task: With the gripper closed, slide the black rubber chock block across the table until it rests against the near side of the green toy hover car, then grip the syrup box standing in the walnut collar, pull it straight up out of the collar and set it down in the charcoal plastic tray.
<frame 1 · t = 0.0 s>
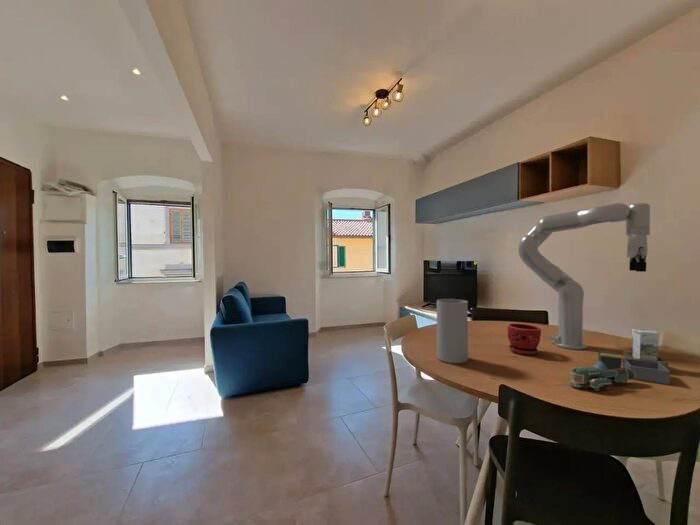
hand: (637, 270, 133), 37 cm above the table, tool pointing down, fingers open, 9 cm apart
tray: (644, 376, 109), on the table
syrup box: (644, 367, 118), resting in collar
green toy hover car: (603, 386, 102), on the table
cylinder vase: (452, 359, 129), on the table
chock: (609, 368, 117), on the table
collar: (644, 366, 118), on the table
plant pot: (523, 352, 138), on the table
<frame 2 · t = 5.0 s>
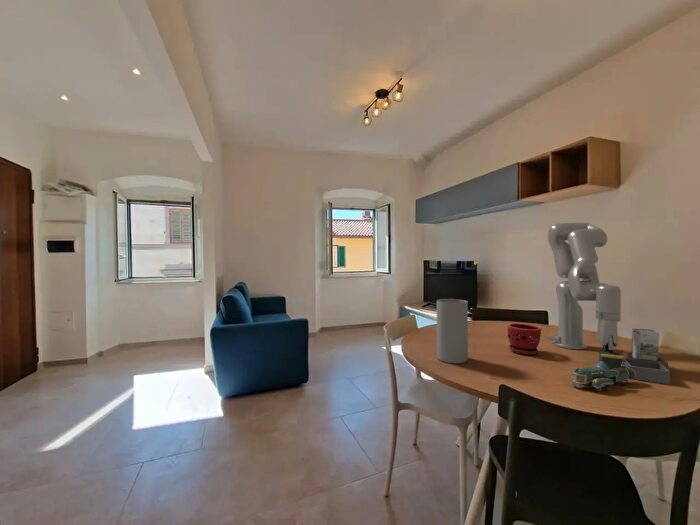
hand: (607, 362, 120), 1 cm above the table, tool pointing down, fingers closed
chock: (610, 369, 116), on the table, touching gripper
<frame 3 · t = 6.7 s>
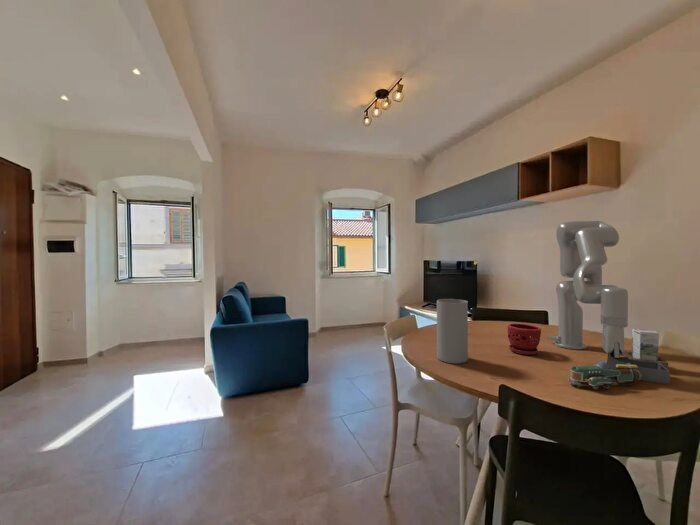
hand: (613, 370, 112), 1 cm above the table, tool pointing down, fingers closed
green toy hover car: (605, 385, 102), on the table, touching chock
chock: (618, 375, 108), point 1 cm above the table, tilted 20°, touching gripper, green toy hover car
everything else where it was.
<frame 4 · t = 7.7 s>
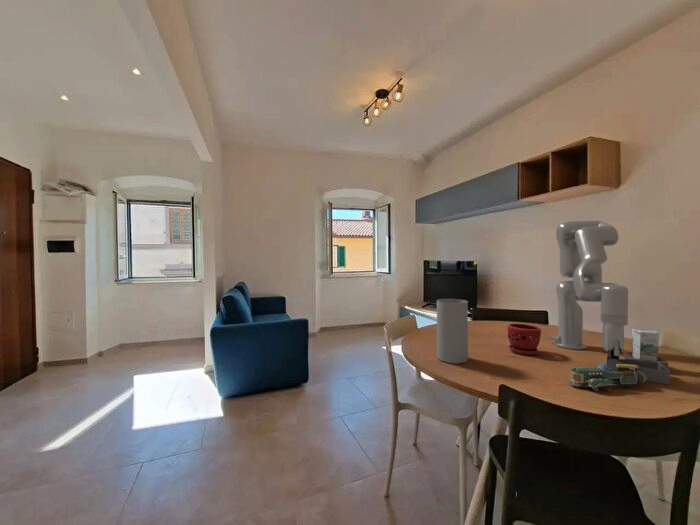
hand: (612, 368, 111), 2 cm above the table, tool pointing down, fingers closed
green toy hover car: (608, 387, 101), on the table
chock: (620, 378, 107), on the table, tilted 7°, touching gripper
everything else where it was.
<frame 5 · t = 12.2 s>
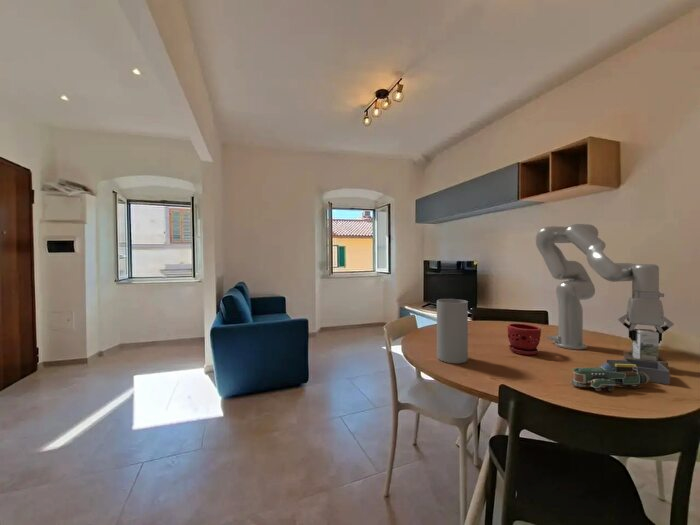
hand: (644, 340, 118), 10 cm above the table, tool pointing down, fingers closed on syrup box, 6 cm apart
syrup box: (644, 367, 118), resting in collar, touching gripper
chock: (620, 379, 107), on the table
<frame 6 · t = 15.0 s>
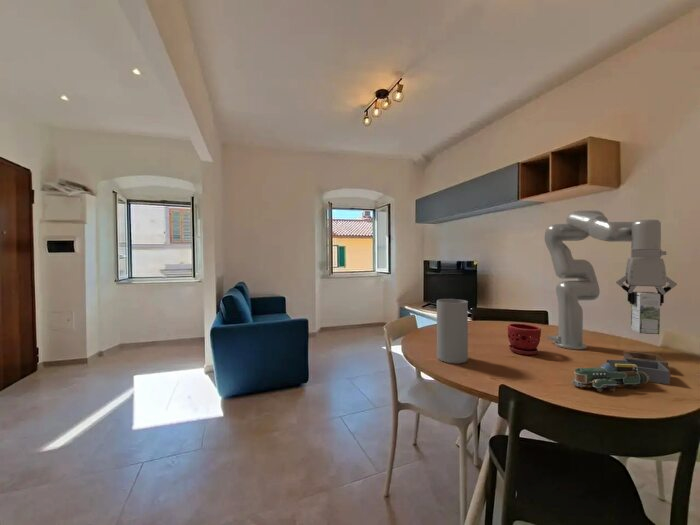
hand: (645, 304, 108), 26 cm above the table, tool pointing down, fingers closed on syrup box, 6 cm apart
syrup box: (645, 332, 109), point 16 cm above the table, touching gripper
when the fingers open (12 cm above the table, at t = 18.0 s): syrup box drops 1 cm, resting on tray.
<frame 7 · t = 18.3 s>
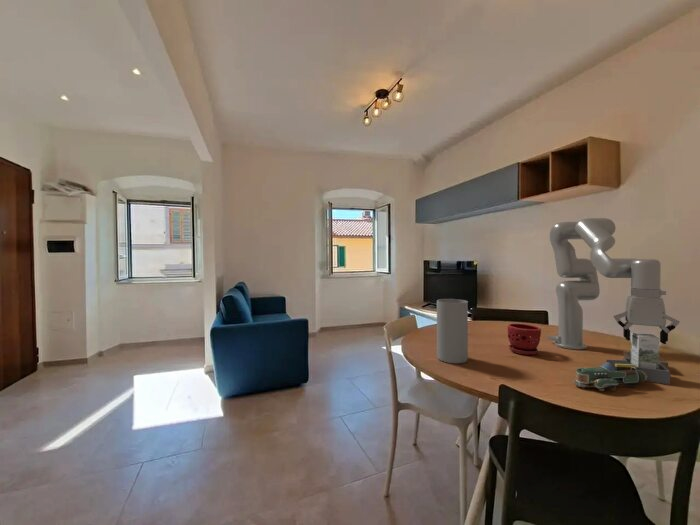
hand: (644, 341, 109), 13 cm above the table, tool pointing down, fingers open, 9 cm apart
syrup box: (643, 375, 109), resting on tray
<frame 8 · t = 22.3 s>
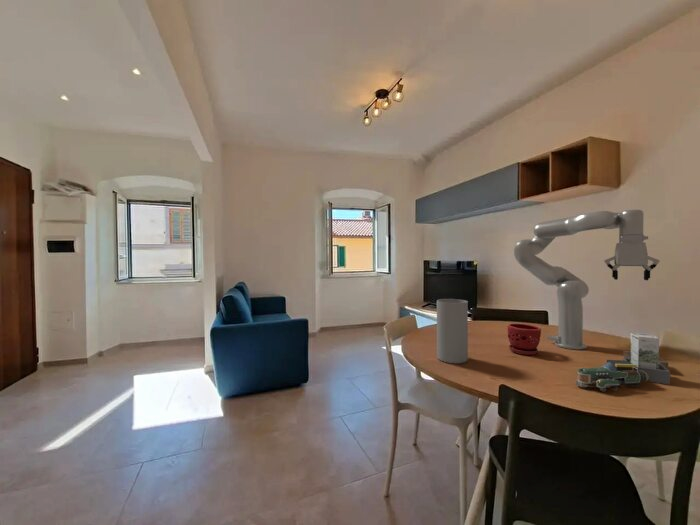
hand: (630, 279, 128), 33 cm above the table, tool pointing down, fingers open, 9 cm apart
at the end: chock inside the target area (1.5 cm from its centre), on the table; syrup box inside the target area on the tray (0.4 cm from its centre), point 0.4 cm above the tray's base; the gripper is holding nothing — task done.
